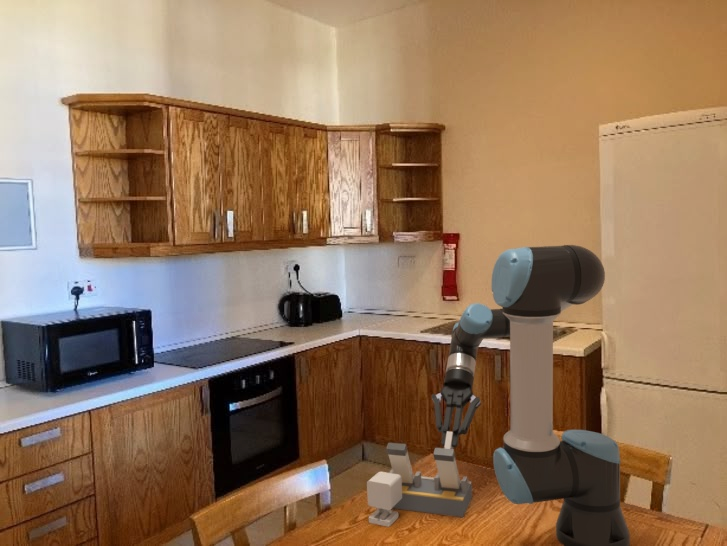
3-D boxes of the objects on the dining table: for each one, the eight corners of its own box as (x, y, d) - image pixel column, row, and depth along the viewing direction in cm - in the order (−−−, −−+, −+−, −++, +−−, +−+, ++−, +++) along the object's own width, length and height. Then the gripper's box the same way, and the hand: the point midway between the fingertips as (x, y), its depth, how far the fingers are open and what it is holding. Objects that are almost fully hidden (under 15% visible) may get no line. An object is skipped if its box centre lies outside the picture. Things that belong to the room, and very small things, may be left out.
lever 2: (462, 485, 156) (455, 449, 149) (461, 492, 154) (453, 456, 147) (442, 483, 158) (433, 447, 151) (440, 489, 156) (432, 454, 149)
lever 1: (416, 480, 160) (407, 444, 153) (414, 486, 159) (405, 450, 152) (396, 478, 162) (387, 442, 155) (394, 484, 160) (384, 448, 154)
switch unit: (472, 497, 160) (471, 470, 159) (463, 517, 149) (462, 488, 149) (397, 488, 167) (396, 462, 166) (384, 507, 157) (382, 479, 156)
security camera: (403, 514, 152) (401, 474, 152) (390, 527, 146) (388, 486, 145) (379, 509, 155) (378, 470, 155) (366, 522, 149) (364, 481, 148)
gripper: (486, 382, 167) (476, 467, 153) (438, 380, 171) (424, 462, 157) (482, 368, 161) (471, 454, 147) (433, 365, 166) (417, 449, 152)
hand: (447, 458), depth 152 cm, fingers closed
